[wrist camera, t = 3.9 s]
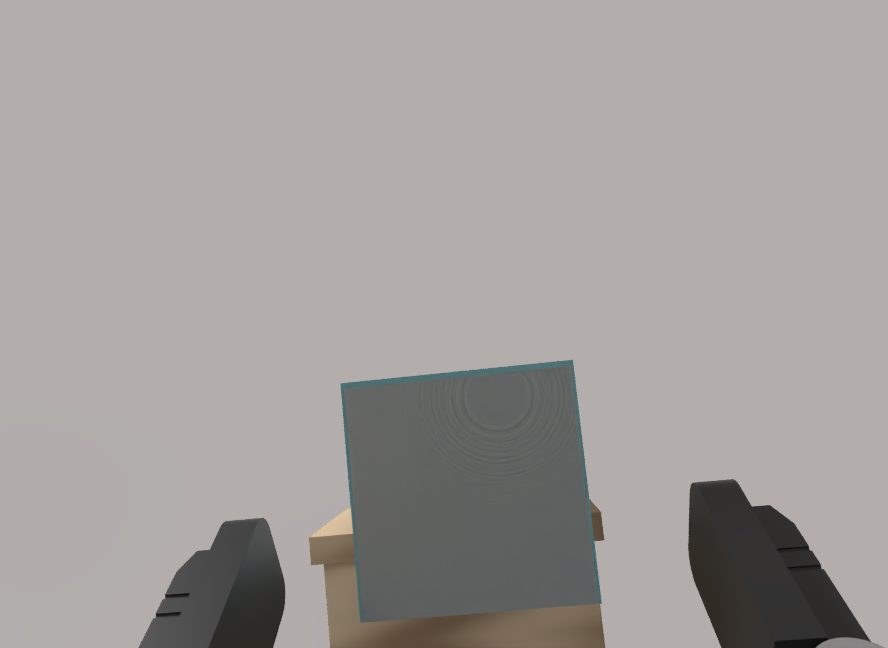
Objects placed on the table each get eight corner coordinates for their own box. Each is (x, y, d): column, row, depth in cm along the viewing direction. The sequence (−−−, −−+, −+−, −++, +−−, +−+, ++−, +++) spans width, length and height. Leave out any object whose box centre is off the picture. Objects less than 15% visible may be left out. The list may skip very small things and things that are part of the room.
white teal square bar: (359, 623, 12) (340, 383, 12) (451, 471, 36) (443, 391, 36) (601, 603, 12) (572, 359, 12) (531, 464, 36) (522, 383, 36)
